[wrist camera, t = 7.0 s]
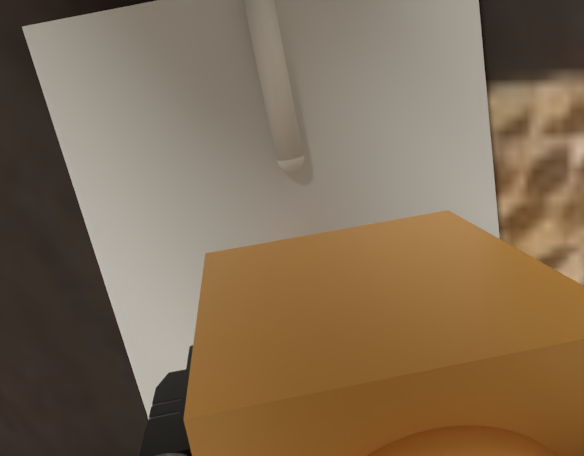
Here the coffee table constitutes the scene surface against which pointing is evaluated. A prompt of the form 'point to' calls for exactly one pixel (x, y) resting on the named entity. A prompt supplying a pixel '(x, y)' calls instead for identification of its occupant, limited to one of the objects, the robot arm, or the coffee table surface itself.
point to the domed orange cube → (386, 347)
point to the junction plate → (256, 136)
